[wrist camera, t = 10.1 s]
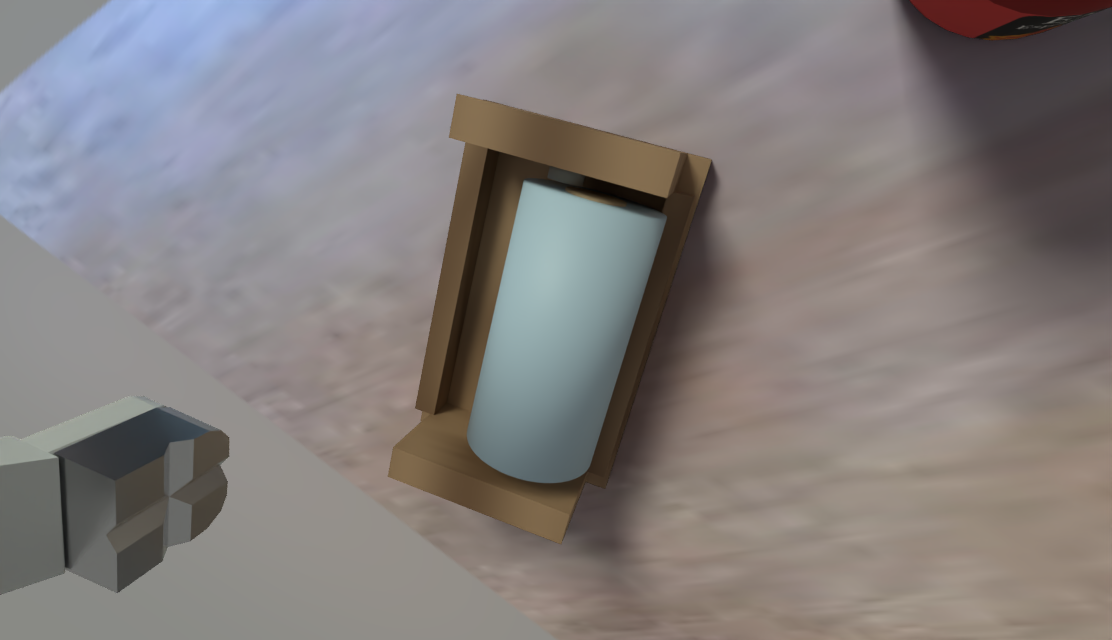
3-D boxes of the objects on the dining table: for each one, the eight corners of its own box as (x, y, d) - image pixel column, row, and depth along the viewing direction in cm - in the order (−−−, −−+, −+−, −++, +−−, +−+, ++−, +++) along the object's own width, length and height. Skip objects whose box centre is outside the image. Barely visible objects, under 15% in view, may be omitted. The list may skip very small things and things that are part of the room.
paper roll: (644, 199, 26) (688, 226, 20) (579, 421, 29) (602, 492, 24) (519, 168, 24) (532, 189, 19) (466, 404, 28) (465, 475, 23)
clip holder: (711, 159, 25) (710, 160, 19) (608, 478, 30) (583, 553, 24) (491, 101, 26) (431, 87, 21) (429, 412, 31) (367, 468, 26)
